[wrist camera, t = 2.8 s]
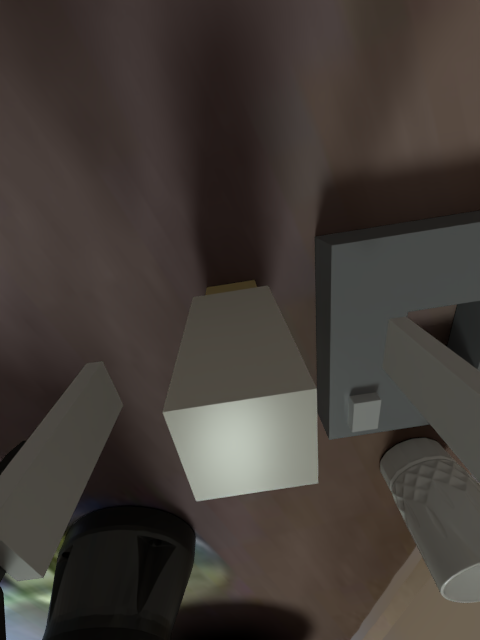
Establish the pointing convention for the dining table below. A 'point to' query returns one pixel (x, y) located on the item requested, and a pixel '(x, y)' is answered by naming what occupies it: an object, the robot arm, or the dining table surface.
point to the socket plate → (388, 312)
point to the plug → (241, 397)
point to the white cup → (438, 513)
